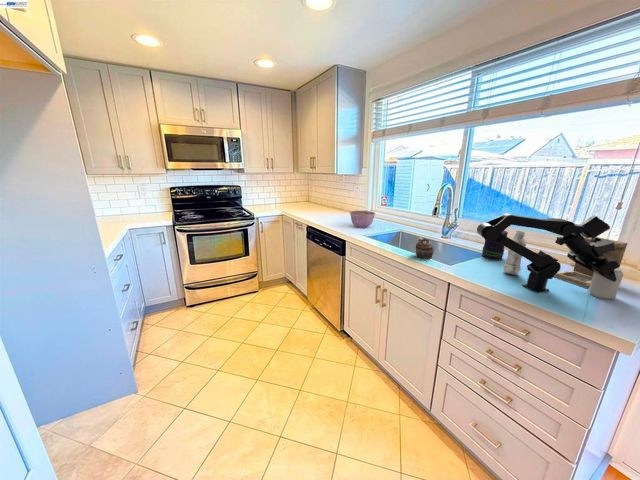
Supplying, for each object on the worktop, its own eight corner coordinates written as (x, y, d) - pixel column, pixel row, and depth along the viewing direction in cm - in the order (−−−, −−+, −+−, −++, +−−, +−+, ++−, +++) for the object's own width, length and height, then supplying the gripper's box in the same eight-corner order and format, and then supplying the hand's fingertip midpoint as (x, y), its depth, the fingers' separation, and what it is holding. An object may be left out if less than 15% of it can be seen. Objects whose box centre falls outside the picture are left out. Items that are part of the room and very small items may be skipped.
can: (586, 289, 109) (595, 262, 105) (612, 295, 104) (622, 266, 101) (588, 296, 103) (597, 267, 100) (616, 302, 98) (627, 272, 95)
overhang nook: (585, 288, 110) (599, 245, 105) (549, 275, 123) (559, 236, 118) (613, 284, 114) (627, 243, 109) (575, 272, 127) (586, 234, 122)
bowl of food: (344, 226, 216) (344, 212, 213) (359, 223, 229) (360, 209, 226) (363, 230, 202) (364, 215, 199) (379, 227, 215) (380, 213, 212)
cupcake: (426, 261, 139) (429, 242, 136) (410, 256, 146) (412, 238, 143) (436, 257, 144) (439, 240, 141) (421, 253, 152) (423, 236, 149)
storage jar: (505, 258, 145) (511, 231, 141) (497, 261, 140) (503, 234, 136) (486, 253, 153) (491, 228, 149) (477, 256, 148) (482, 230, 144)
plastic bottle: (500, 273, 124) (510, 231, 118) (503, 269, 128) (512, 229, 123) (517, 277, 119) (528, 234, 114) (520, 273, 124) (529, 232, 119)
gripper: (622, 238, 90) (652, 272, 90) (584, 227, 107) (609, 255, 107) (587, 258, 93) (616, 291, 94) (556, 244, 111) (580, 271, 111)
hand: (605, 276), depth 101 cm, fingers open, 9 cm apart
